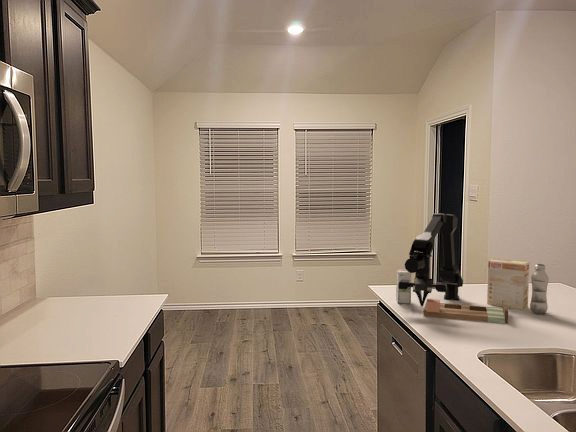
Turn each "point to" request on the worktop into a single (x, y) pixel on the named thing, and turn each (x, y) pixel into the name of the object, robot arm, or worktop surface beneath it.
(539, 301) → the plastic bottle
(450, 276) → the robot arm
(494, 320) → the board
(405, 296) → the syrup box
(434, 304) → the coral block
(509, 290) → the coffeecake box
